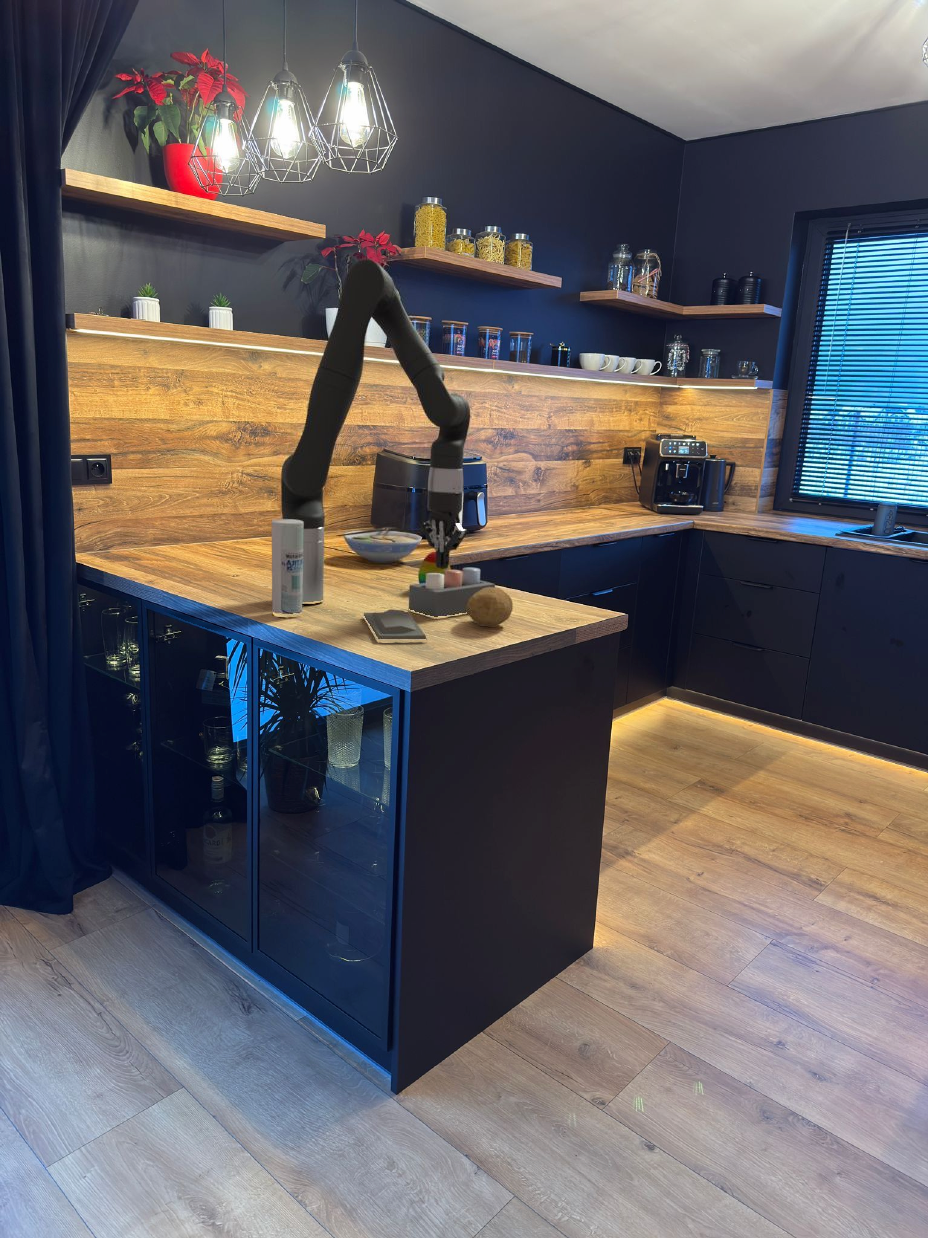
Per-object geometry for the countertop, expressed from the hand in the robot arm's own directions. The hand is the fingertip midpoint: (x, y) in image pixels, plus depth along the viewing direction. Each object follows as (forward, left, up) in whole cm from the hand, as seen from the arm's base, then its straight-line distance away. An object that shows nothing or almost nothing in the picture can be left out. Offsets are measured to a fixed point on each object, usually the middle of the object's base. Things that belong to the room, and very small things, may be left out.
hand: (442, 568), depth 194 cm
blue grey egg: (+10, 0, -7) cm, 12 cm away
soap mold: (-18, -6, -11) cm, 22 cm away
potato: (+1, -14, -10) cm, 17 cm away
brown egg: (+4, 0, -7) cm, 8 cm away
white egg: (-2, 0, -7) cm, 8 cm away
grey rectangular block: (+4, 0, -10) cm, 11 cm away
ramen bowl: (+30, +57, -10) cm, 65 cm away
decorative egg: (+14, +18, -10) cm, 25 cm away
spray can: (-30, +16, -10) cm, 35 cm away
